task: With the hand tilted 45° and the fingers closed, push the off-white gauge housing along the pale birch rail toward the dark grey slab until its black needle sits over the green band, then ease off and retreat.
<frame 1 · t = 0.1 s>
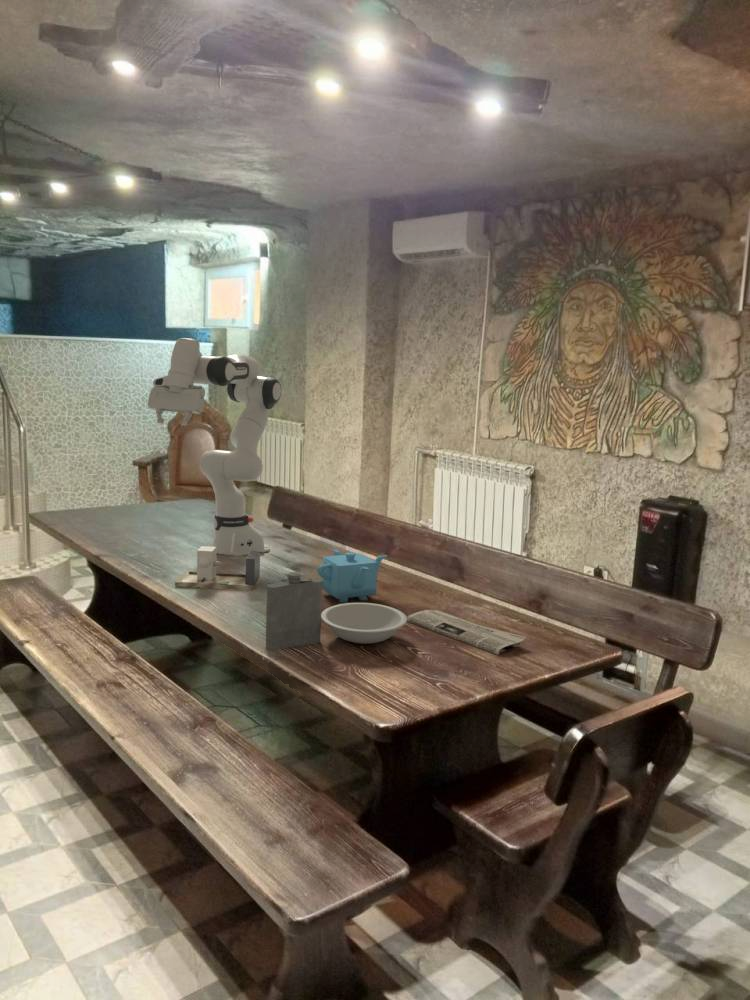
hand: (171, 424, 261), 52 cm above the table, tool tilted 20°, fingers open, 8 cm apart
soup bowl: (363, 639, 218), on the table
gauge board: (218, 583, 262), on the table
newspaper: (465, 635, 227), on the table
dark grey slab: (252, 585, 262), resting on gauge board
teakettle: (351, 597, 255), on the table
hip flask: (292, 645, 212), on the table
gauge housing: (208, 564, 260), point 7 cm above the table, slide at 0.0 cm
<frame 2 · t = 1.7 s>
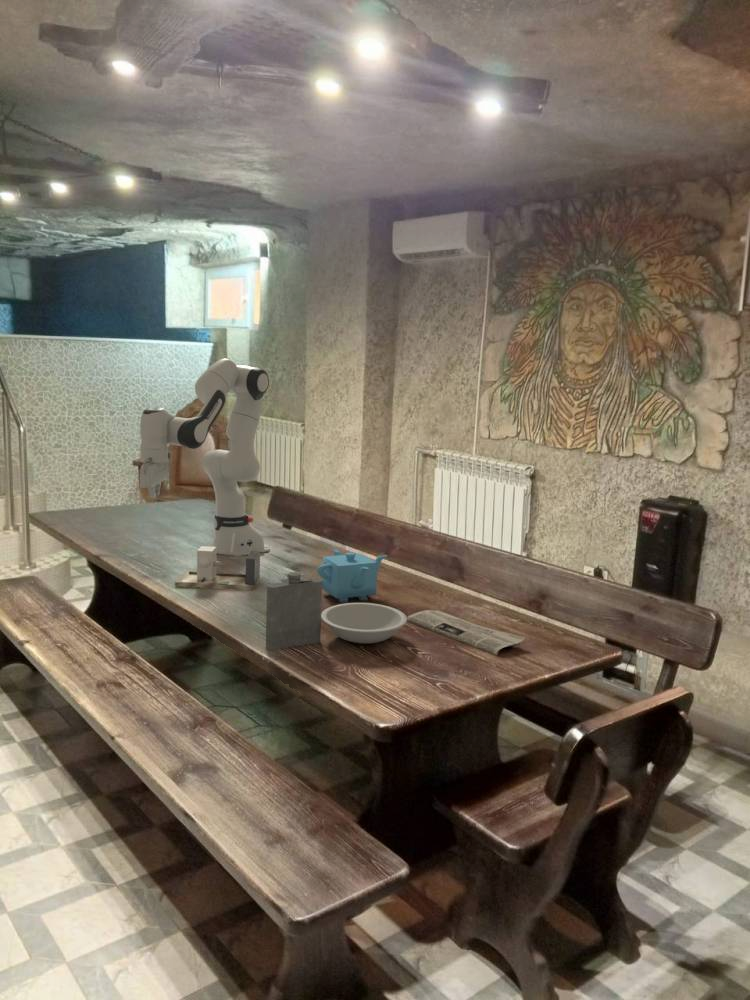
hand: (154, 496, 264), 27 cm above the table, tool pointing down, fingers open, 3 cm apart
nothing on the table moved.
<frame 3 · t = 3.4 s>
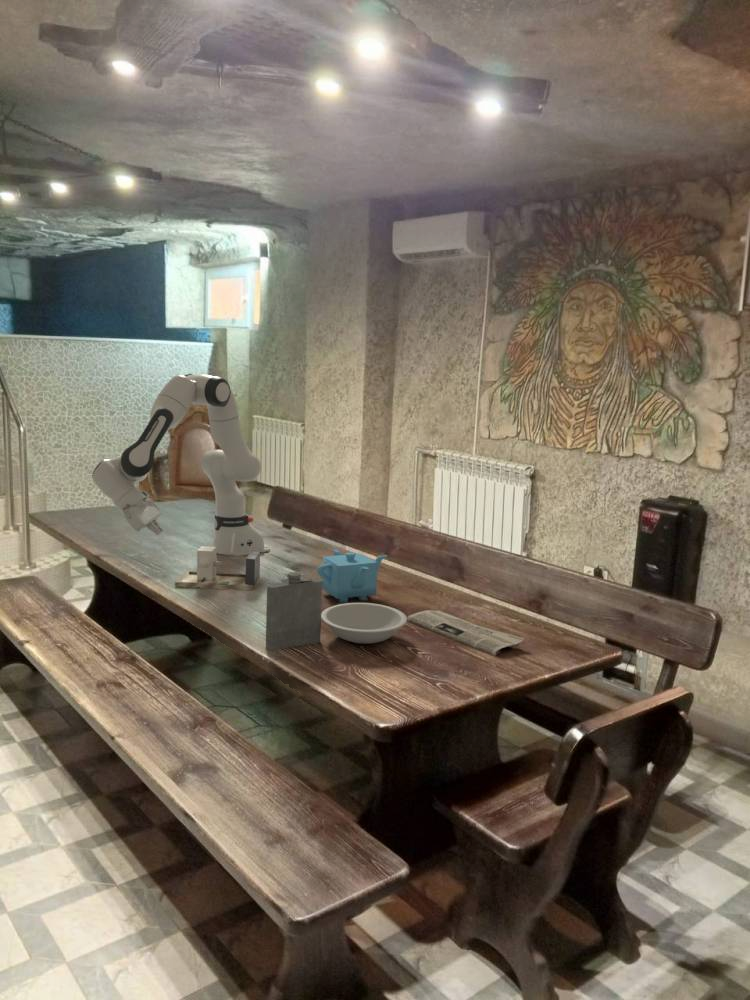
hand: (160, 533, 259), 16 cm above the table, tool tilted 45°, fingers closed
nothing on the table moved.
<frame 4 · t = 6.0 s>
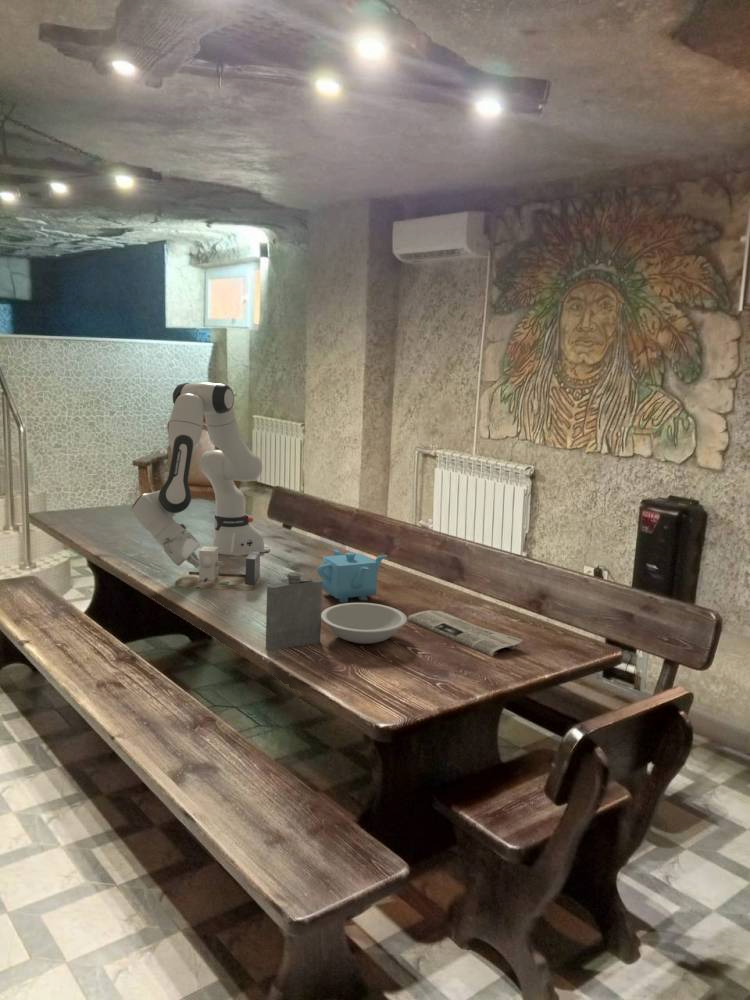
hand: (199, 565, 261), 6 cm above the table, tool tilted 45°, fingers closed, pressing on gauge housing
gauge housing: (210, 564, 260), point 7 cm above the table, slide at 0.7 cm, touching gripper
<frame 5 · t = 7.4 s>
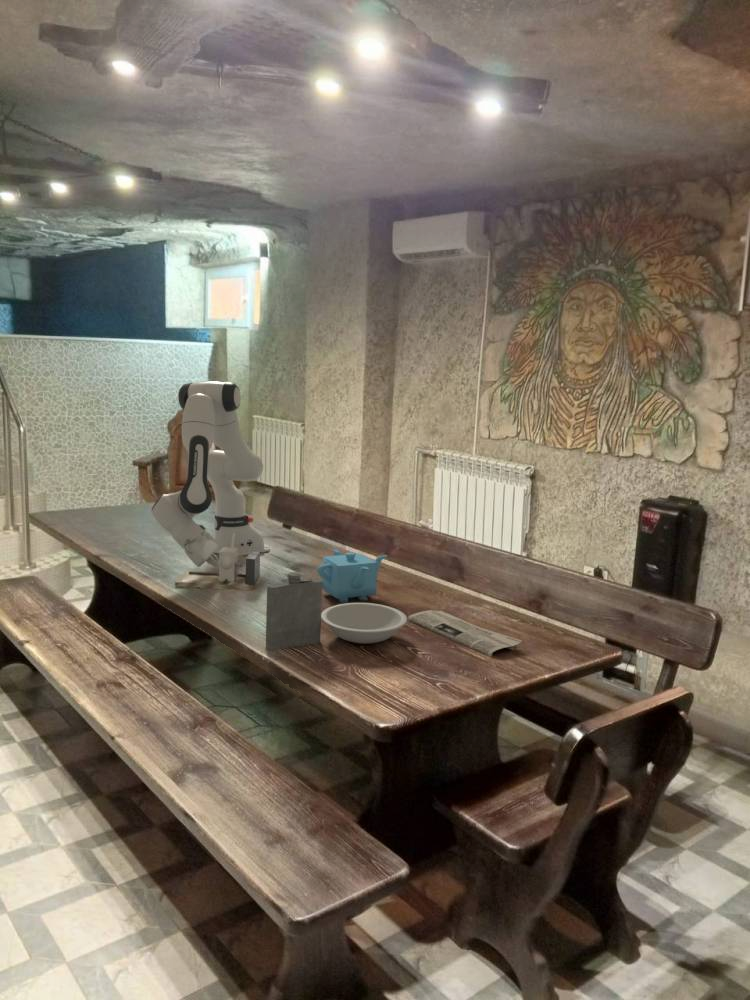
hand: (219, 566, 261), 6 cm above the table, tool tilted 45°, fingers closed, pressing on gauge housing
gauge housing: (230, 565, 259), point 7 cm above the table, slide at 7.3 cm, touching gripper
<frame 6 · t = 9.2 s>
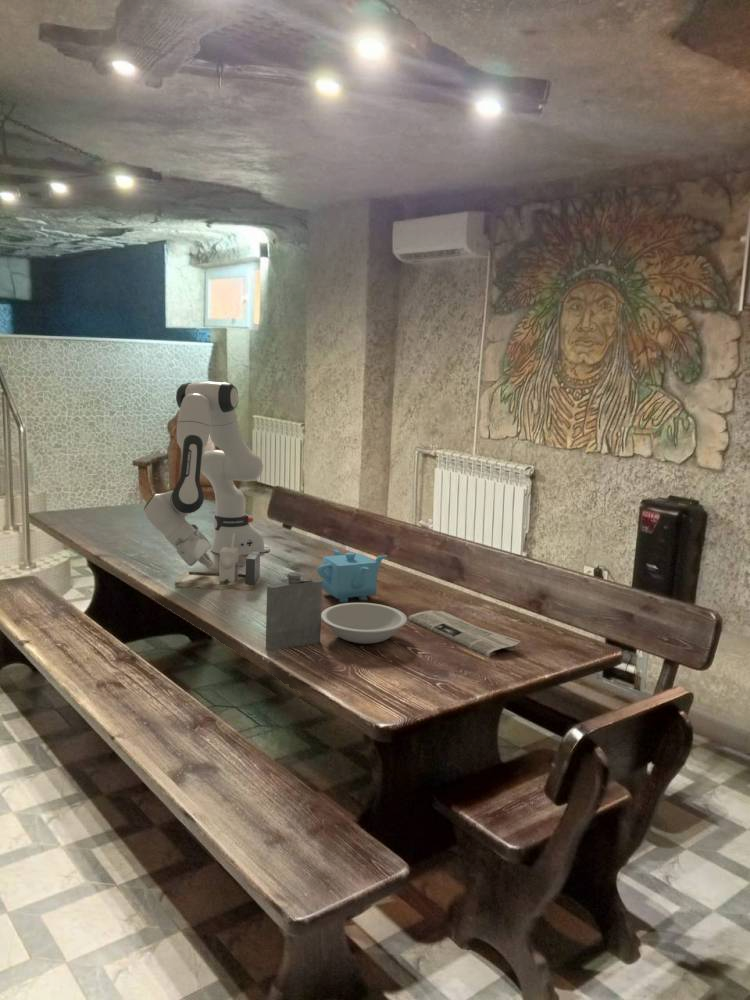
hand: (211, 566, 261), 6 cm above the table, tool tilted 45°, fingers closed
gauge housing: (231, 565, 259), point 7 cm above the table, slide at 7.5 cm
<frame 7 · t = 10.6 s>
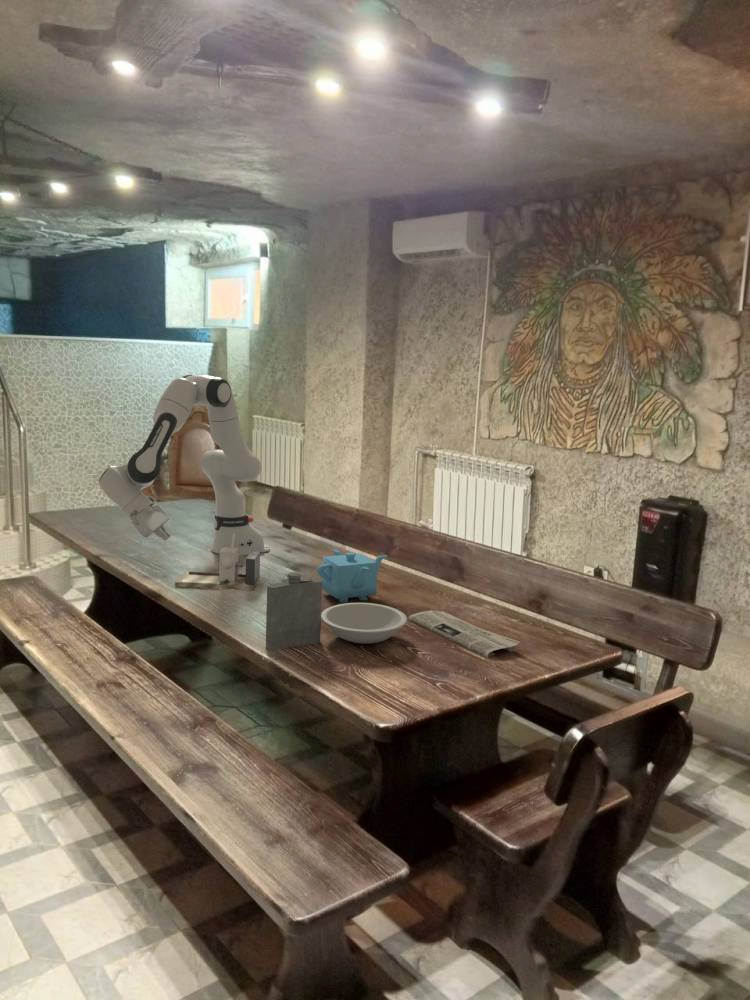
hand: (168, 538, 260), 15 cm above the table, tool tilted 45°, fingers closed
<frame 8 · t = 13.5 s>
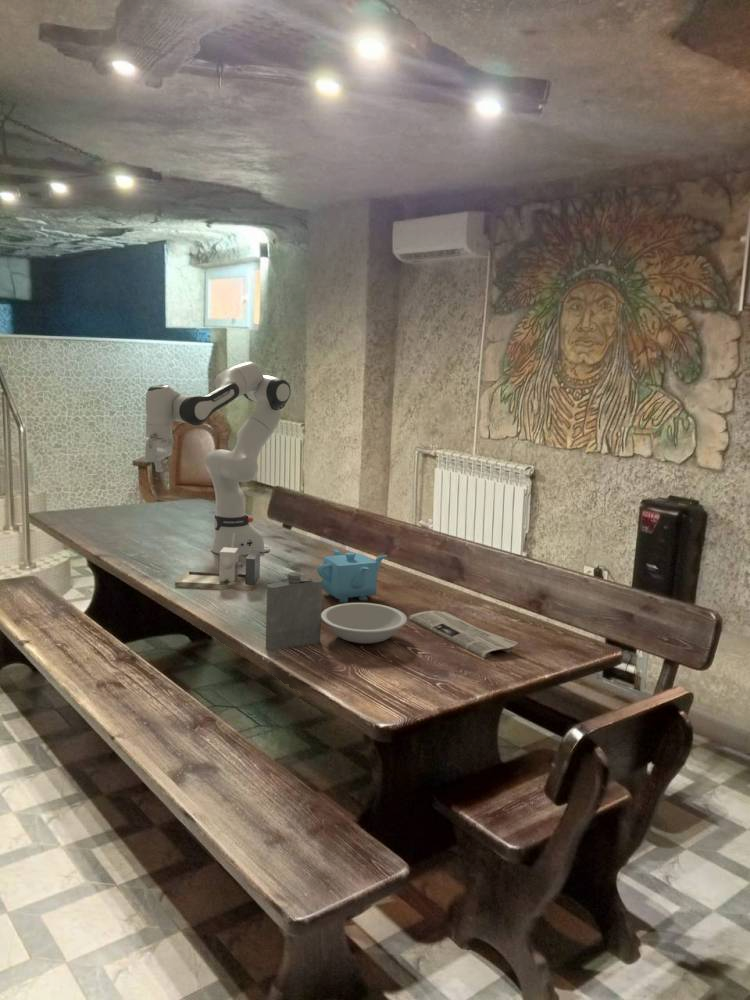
hand: (159, 471, 274), 34 cm above the table, tool pointing down, fingers closed
at the end: gauge housing slide at 7.5 cm; the gripper is holding nothing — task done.
